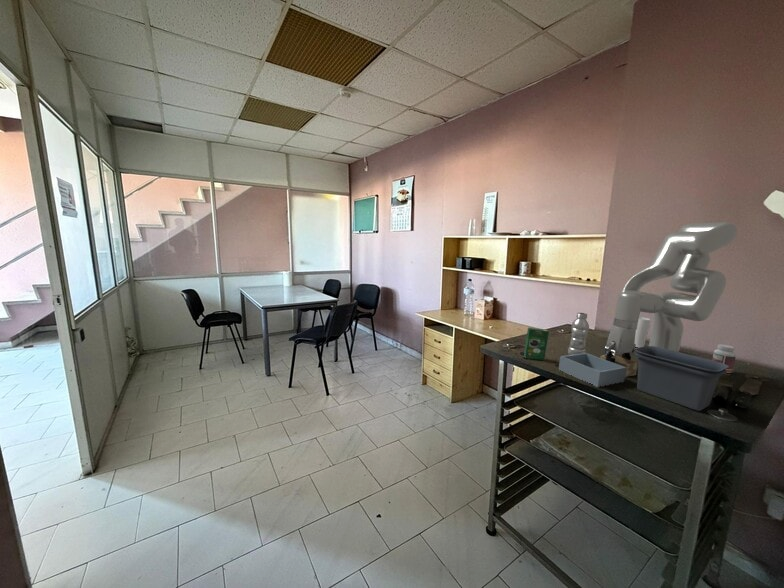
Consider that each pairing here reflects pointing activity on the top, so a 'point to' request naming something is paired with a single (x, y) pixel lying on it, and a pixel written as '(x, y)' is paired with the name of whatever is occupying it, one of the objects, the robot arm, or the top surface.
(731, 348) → the pill bottle
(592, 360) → the grey crate
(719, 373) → the storage bin
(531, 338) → the coffee box
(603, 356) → the wooden crate
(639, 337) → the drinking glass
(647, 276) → the robot arm
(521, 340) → the top surface
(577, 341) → the plastic bottle
